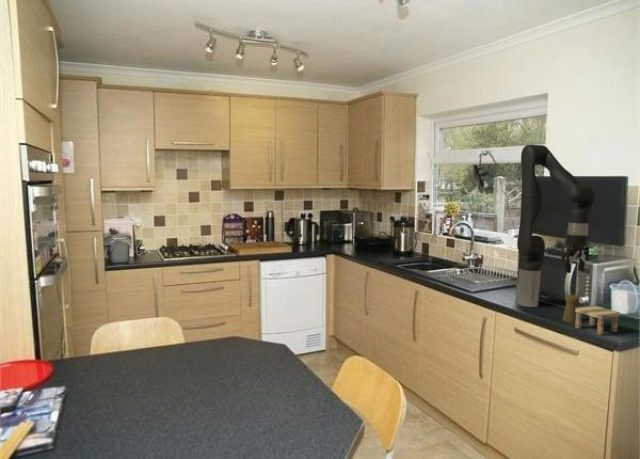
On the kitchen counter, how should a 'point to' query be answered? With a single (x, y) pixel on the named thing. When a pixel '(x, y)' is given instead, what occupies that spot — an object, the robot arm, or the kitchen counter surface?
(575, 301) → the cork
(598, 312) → the birch stool
